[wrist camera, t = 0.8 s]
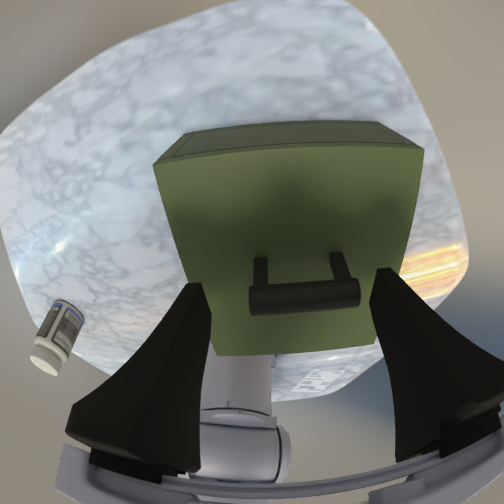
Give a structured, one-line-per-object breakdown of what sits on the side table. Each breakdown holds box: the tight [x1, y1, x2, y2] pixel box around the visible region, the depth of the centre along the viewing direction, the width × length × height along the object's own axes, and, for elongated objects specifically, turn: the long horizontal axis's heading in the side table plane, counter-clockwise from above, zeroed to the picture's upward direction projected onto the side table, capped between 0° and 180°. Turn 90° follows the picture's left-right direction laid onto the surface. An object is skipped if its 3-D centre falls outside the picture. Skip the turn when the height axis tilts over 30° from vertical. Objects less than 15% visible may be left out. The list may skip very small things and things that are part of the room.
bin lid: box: [153, 142, 424, 356], centre depth 14 cm, size 15×13×4 cm
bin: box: [158, 121, 417, 160], centre depth 18 cm, size 15×13×5 cm
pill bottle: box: [30, 301, 83, 376], centre depth 25 cm, size 5×5×8 cm
